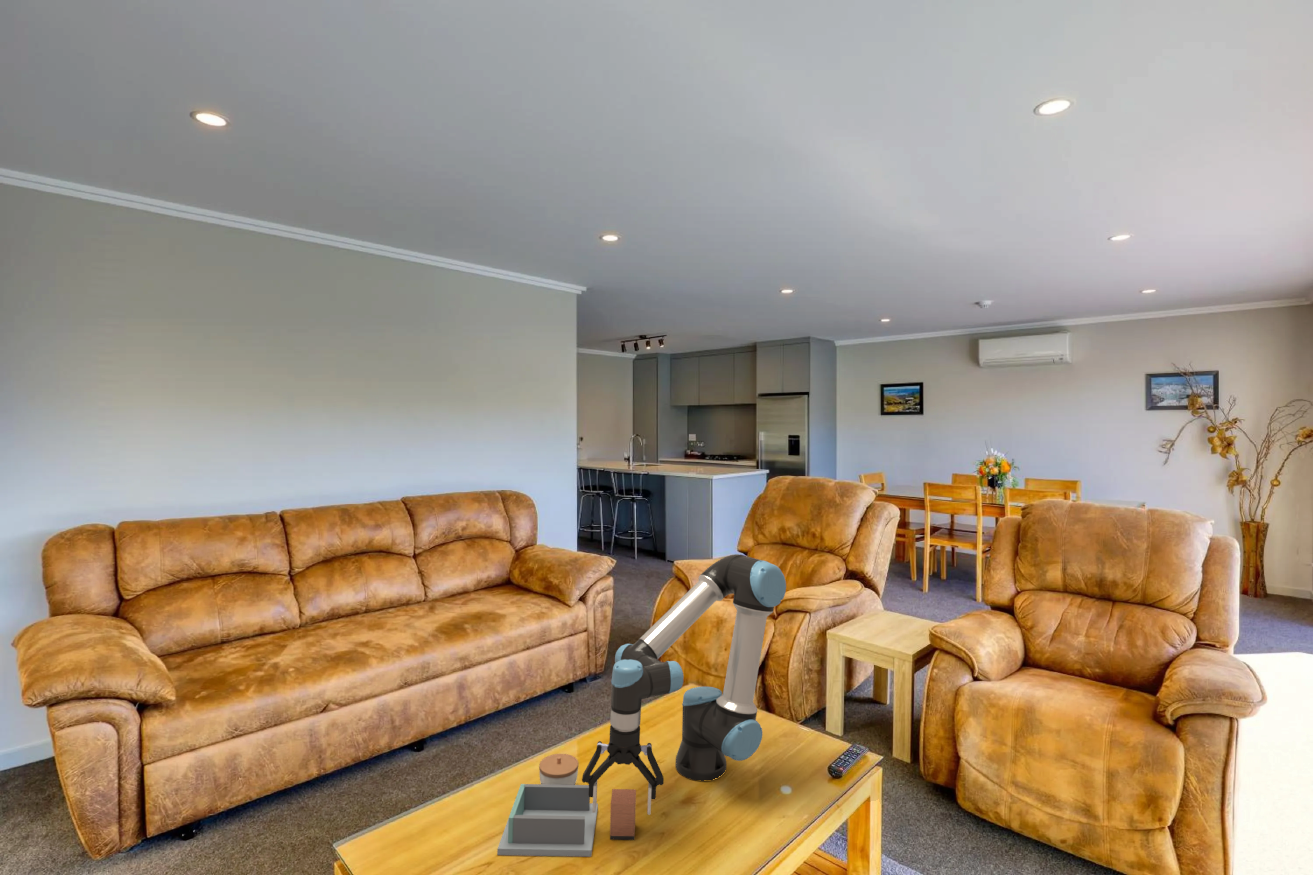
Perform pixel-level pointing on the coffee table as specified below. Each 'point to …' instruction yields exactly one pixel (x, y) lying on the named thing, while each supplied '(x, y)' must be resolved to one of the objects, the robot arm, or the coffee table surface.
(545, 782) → the lidded jar
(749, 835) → the coffee table surface
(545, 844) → the dock
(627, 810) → the upright terracotta block
